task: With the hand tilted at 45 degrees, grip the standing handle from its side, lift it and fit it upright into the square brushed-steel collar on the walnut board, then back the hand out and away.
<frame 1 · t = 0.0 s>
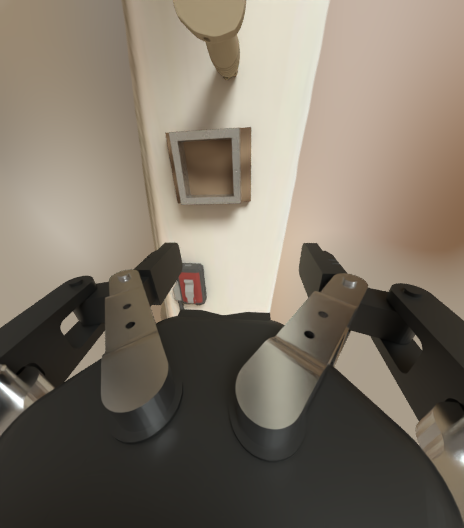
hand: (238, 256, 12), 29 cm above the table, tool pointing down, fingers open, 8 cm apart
collar: (212, 168, 36), resting on board
handle: (228, 67, 29), on the table
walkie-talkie: (191, 289, 53), on the table
board: (212, 168, 36), on the table
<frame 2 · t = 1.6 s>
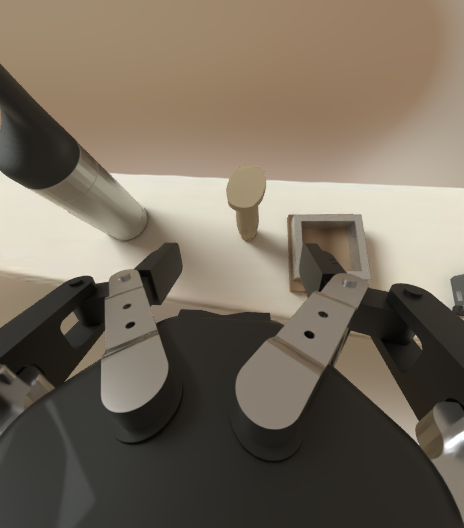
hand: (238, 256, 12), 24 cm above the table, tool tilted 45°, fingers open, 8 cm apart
collar: (320, 253, 36), resting on board
handle: (248, 234, 39), on the table
board: (320, 253, 36), on the table
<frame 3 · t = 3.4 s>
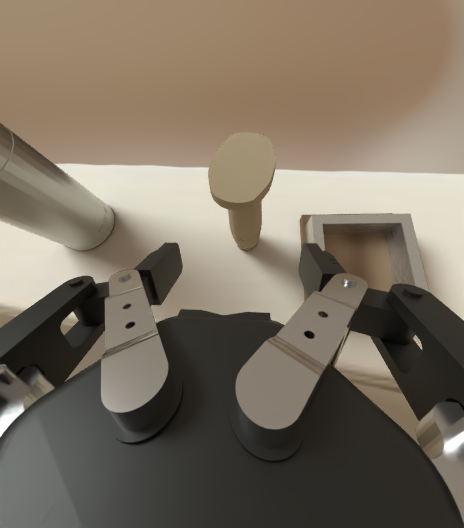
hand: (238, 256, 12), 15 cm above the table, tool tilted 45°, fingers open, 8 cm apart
collar: (347, 268, 26), resting on board
handle: (246, 242, 29), on the table
board: (347, 268, 26), on the table
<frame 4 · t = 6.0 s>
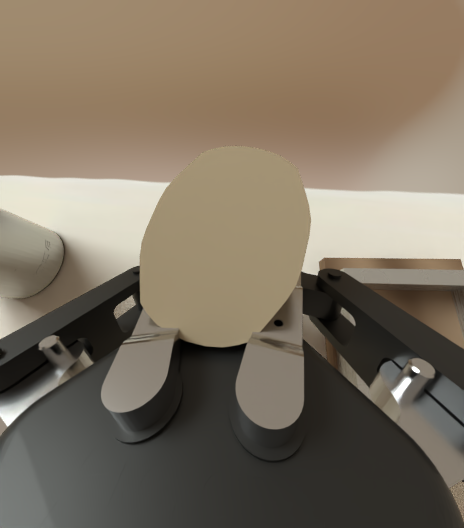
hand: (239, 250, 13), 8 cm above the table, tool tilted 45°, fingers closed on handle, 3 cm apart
collar: (392, 340, 17), resting on board
handle: (243, 292, 20), on the table, touching gripper
board: (392, 340, 17), on the table
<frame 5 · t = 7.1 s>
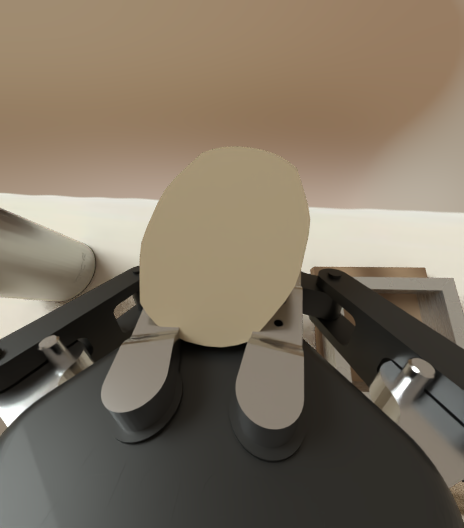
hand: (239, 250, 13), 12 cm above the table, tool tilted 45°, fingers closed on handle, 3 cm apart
collar: (370, 334, 21), resting on board
handle: (243, 292, 20), point 4 cm above the table, touching gripper
board: (370, 334, 21), on the table
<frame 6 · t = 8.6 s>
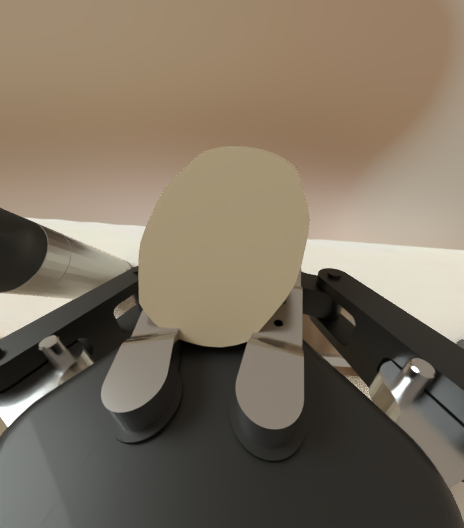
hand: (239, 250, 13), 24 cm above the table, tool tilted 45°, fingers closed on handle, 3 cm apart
handle: (243, 292, 20), point 16 cm above the table, touching gripper
board: (318, 323, 33), on the table
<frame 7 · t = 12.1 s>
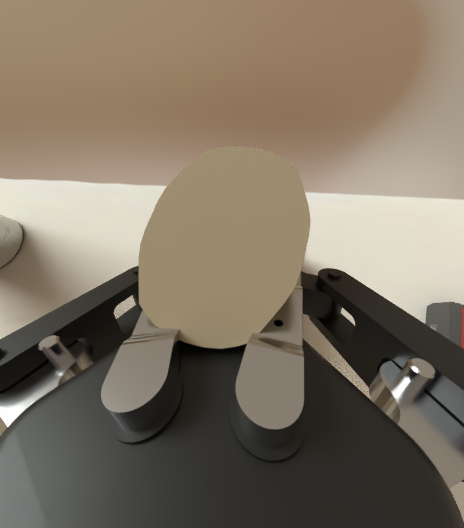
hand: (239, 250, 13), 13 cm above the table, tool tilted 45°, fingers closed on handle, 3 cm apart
handle: (243, 292, 20), point 5 cm above the table, touching gripper
when the fingers open (11 cm above the table, at t = 13.1 s): handle drops 1 cm, resting on board.
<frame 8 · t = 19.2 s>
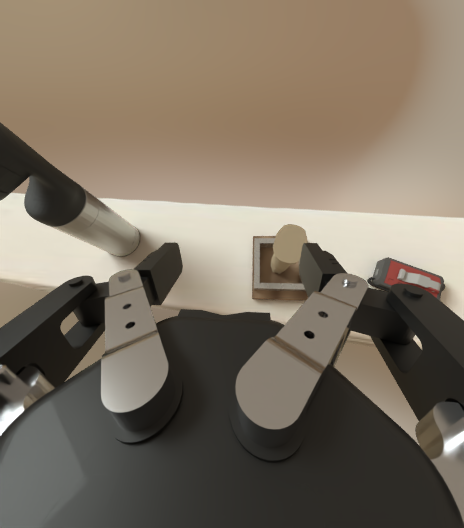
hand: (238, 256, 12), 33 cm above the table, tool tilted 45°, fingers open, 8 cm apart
collar: (277, 267, 45), resting on board
handle: (277, 267, 43), point 1 cm above the table, touching board
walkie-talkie: (414, 292, 41), on the table
board: (277, 267, 45), on the table
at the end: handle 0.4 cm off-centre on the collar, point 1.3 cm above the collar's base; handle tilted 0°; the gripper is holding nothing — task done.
